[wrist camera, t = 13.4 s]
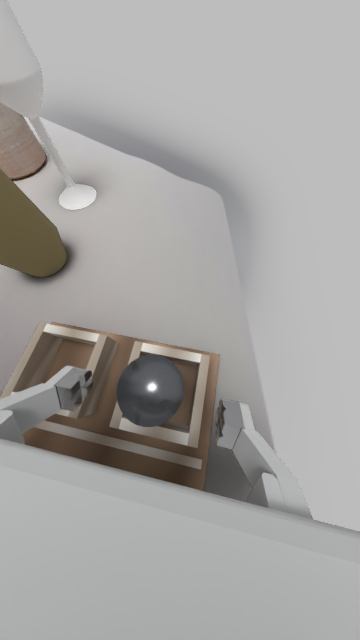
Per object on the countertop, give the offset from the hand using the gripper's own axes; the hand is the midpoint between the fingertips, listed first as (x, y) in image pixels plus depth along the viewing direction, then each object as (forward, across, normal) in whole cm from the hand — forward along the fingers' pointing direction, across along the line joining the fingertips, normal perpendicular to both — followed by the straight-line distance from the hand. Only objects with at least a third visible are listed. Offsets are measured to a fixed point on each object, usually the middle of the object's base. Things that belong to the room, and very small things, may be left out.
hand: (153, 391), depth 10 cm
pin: (+5, 0, +5) cm, 7 cm away
